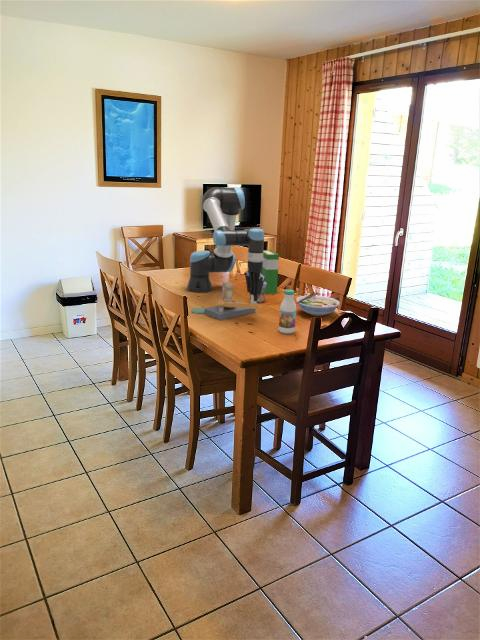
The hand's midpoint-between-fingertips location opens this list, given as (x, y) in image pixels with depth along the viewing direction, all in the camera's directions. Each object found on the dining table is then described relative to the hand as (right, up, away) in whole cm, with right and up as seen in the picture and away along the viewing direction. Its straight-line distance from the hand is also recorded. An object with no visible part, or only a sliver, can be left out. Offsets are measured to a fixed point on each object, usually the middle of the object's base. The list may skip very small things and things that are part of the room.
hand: (253, 306), depth 254 cm
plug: (-14, -3, +9) cm, 17 cm away
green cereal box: (+10, +12, +58) cm, 60 cm away
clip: (-8, 0, -1) cm, 8 cm away
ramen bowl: (+34, -4, +13) cm, 36 cm away
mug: (+3, +4, +35) cm, 35 cm away
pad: (-28, -2, +9) cm, 29 cm away
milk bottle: (+15, -12, -16) cm, 25 cm away
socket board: (-12, -3, +8) cm, 15 cm away
